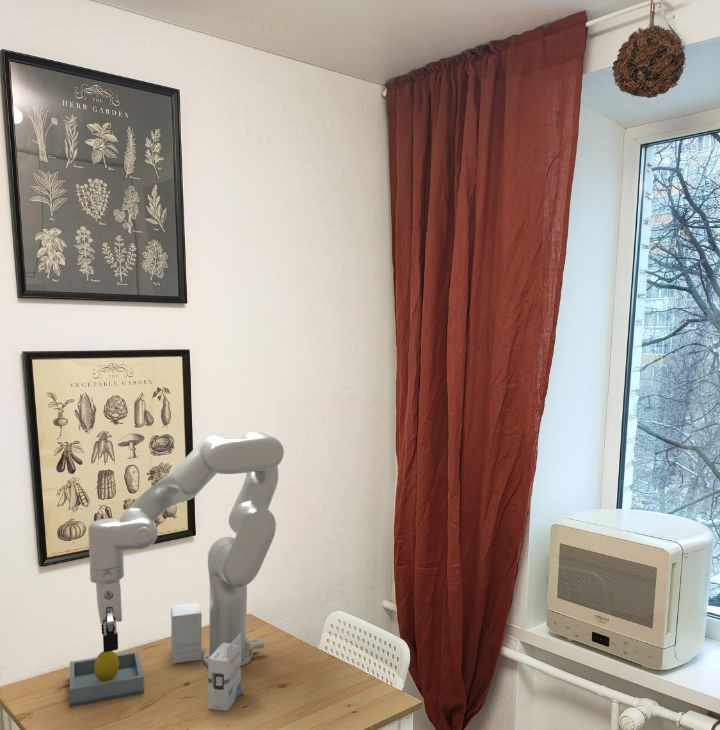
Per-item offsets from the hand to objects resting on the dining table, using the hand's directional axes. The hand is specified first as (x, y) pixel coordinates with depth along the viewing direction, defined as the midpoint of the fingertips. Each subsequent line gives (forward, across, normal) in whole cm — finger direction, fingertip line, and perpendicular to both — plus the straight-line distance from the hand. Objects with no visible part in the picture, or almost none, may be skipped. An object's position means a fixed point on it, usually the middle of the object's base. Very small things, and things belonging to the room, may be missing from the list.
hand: (109, 641), depth 162 cm
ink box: (+12, -17, -24) cm, 31 cm away
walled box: (+10, 0, +1) cm, 11 cm away
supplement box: (+12, +8, -19) cm, 24 cm away
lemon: (+10, 0, +1) cm, 10 cm away
